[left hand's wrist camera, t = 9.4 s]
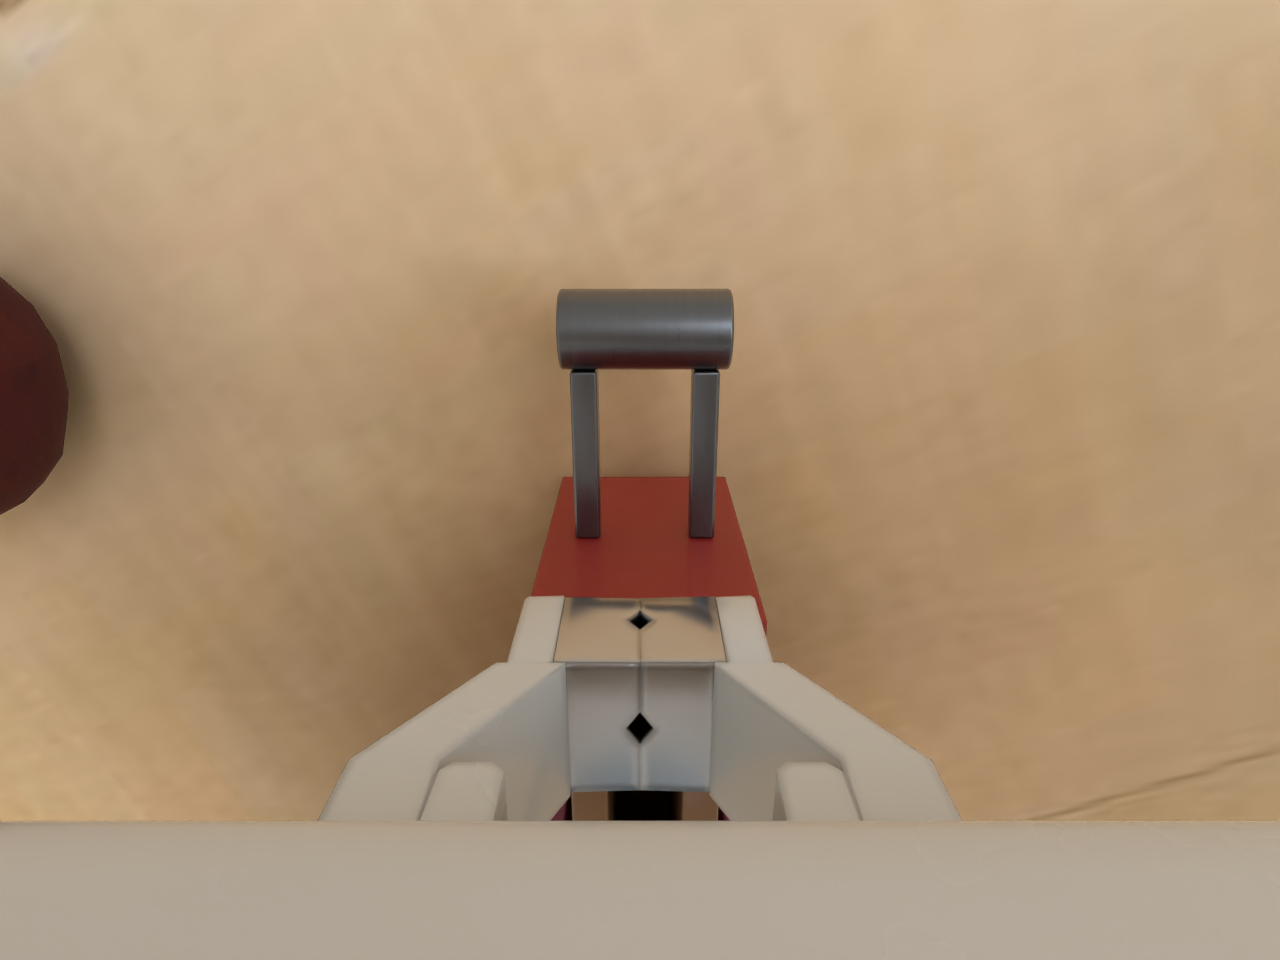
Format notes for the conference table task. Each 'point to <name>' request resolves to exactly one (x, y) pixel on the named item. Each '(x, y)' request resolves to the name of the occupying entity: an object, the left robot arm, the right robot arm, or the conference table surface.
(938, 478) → the conference table surface
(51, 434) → the dark brown ball
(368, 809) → the left robot arm
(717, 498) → the drawer
